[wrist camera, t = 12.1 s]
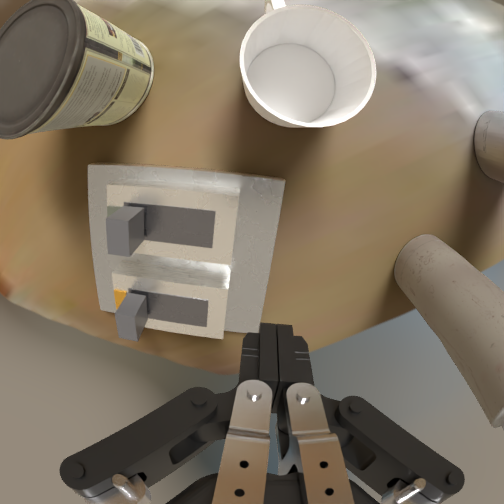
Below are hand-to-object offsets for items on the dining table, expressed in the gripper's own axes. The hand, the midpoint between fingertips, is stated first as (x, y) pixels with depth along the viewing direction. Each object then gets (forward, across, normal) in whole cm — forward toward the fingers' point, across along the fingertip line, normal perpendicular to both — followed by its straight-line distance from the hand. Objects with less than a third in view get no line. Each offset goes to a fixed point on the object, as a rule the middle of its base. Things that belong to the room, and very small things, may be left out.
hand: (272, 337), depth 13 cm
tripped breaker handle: (+12, +12, +8) cm, 19 cm away
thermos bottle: (+18, -20, +3) cm, 27 cm away
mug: (+18, 0, -16) cm, 24 cm away
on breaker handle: (+12, +12, -1) cm, 17 cm away
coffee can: (+17, +18, -14) cm, 28 cm away
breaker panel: (+17, +9, +4) cm, 20 cm away
